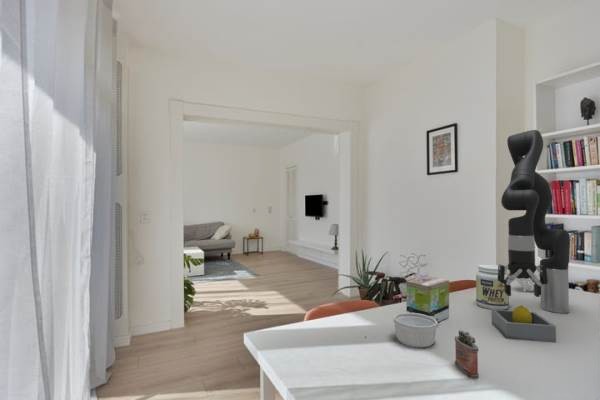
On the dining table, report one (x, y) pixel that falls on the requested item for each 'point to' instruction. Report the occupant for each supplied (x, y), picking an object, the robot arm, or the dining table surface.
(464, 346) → the lighter
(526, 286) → the white textured ornament
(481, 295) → the supplement tub
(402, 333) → the ramekin
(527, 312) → the lemon
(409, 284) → the tea box
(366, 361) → the dining table surface
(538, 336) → the bin
